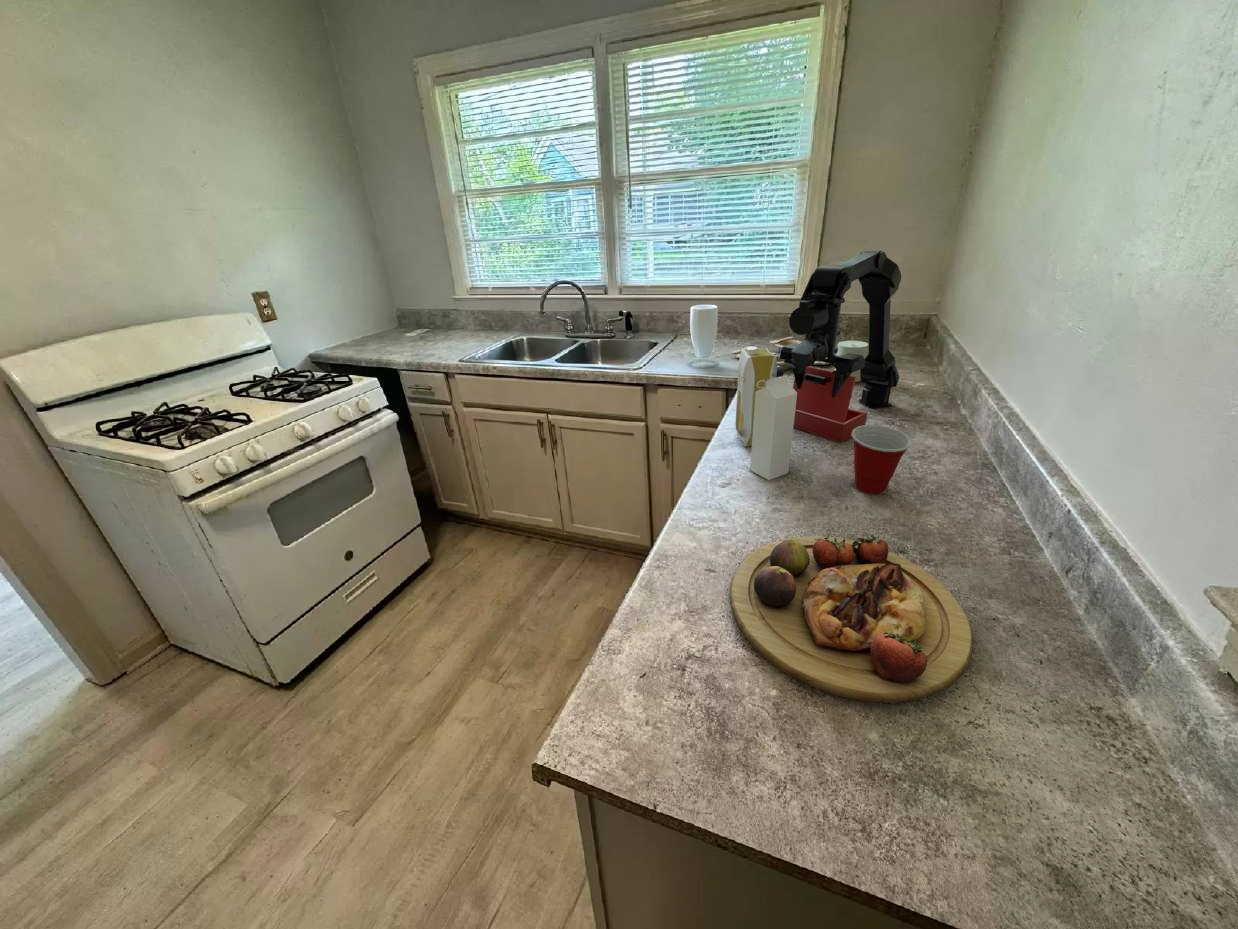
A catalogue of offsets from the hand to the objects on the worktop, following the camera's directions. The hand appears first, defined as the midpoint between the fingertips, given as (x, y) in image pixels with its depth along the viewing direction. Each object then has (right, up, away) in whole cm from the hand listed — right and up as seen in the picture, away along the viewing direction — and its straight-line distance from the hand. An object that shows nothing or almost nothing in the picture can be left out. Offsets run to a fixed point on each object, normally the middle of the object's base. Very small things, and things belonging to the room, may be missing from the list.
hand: (815, 392), depth 118 cm
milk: (-13, -19, -6) cm, 24 cm away
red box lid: (+4, +1, +6) cm, 7 cm away
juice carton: (-13, -11, +9) cm, 19 cm away
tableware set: (+17, +23, +73) cm, 78 cm away
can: (+30, +12, +48) cm, 58 cm away
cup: (-15, +21, +73) cm, 77 cm away
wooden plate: (-15, -39, -45) cm, 61 cm away
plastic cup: (+5, -22, -15) cm, 27 cm away
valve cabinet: (+8, -8, +13) cm, 17 cm away
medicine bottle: (-2, 0, +29) cm, 29 cm away
